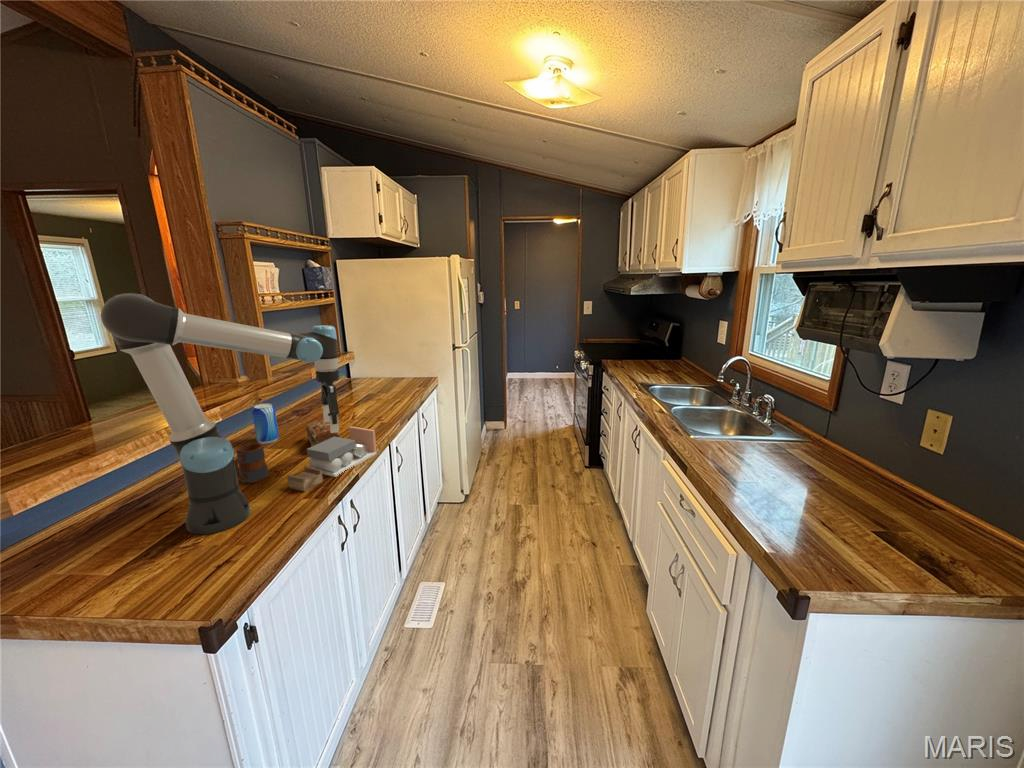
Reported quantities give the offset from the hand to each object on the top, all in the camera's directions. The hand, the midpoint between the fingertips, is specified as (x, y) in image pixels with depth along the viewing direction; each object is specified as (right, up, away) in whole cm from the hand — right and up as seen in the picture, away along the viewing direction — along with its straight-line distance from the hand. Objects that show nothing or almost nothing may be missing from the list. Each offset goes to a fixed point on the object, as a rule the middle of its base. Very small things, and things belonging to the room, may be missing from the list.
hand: (331, 426), depth 148 cm
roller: (+4, -10, +11) cm, 15 cm away
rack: (-4, -19, -10) cm, 22 cm away
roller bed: (+2, -14, +8) cm, 16 cm away
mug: (-24, -18, -7) cm, 31 cm away
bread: (-14, -10, +24) cm, 30 cm away
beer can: (-39, -9, +27) cm, 49 cm away
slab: (0, -9, +1) cm, 9 cm away
